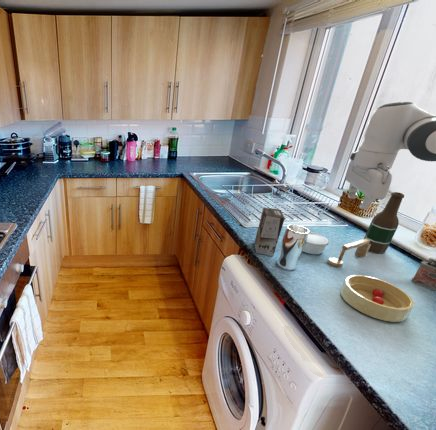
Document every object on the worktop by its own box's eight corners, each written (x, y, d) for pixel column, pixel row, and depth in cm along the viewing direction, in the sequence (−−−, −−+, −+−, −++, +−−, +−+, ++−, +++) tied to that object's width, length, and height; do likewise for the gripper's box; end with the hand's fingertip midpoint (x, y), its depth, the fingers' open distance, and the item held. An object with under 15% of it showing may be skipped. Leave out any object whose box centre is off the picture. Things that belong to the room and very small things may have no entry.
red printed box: (411, 282, 96) (425, 257, 92) (411, 278, 98) (424, 253, 94) (445, 293, 91) (462, 267, 87) (444, 288, 93) (460, 263, 89)
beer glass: (279, 257, 108) (290, 222, 102) (299, 265, 104) (312, 229, 97) (272, 265, 104) (283, 228, 97) (293, 273, 99) (306, 235, 93)
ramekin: (312, 241, 120) (316, 230, 118) (331, 256, 110) (336, 244, 108) (286, 241, 120) (289, 230, 118) (303, 256, 110) (307, 244, 107)
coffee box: (274, 256, 109) (285, 218, 102) (255, 253, 111) (265, 215, 104) (271, 245, 117) (281, 209, 110) (253, 242, 119) (263, 206, 112)
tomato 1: (383, 298, 88) (387, 291, 86) (378, 300, 87) (382, 293, 85) (373, 293, 90) (377, 286, 89) (369, 295, 89) (372, 288, 88)
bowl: (417, 314, 82) (425, 300, 80) (387, 330, 77) (395, 316, 75) (358, 282, 95) (364, 270, 93) (328, 294, 90) (334, 281, 87)
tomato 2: (383, 306, 84) (387, 299, 83) (378, 308, 83) (382, 301, 82) (373, 300, 86) (376, 293, 85) (368, 302, 86) (371, 296, 84)
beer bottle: (368, 252, 113) (394, 196, 103) (356, 243, 120) (379, 189, 110) (390, 255, 112) (418, 197, 102) (377, 245, 119) (402, 190, 109)
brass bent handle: (337, 268, 103) (343, 251, 100) (324, 261, 106) (331, 245, 103) (367, 257, 110) (374, 242, 107) (355, 252, 113) (361, 236, 110)
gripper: (405, 169, 76) (384, 217, 81) (371, 154, 93) (356, 194, 99) (376, 167, 77) (358, 213, 83) (348, 152, 95) (335, 191, 101)
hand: (357, 202), depth 91 cm, fingers open, 8 cm apart
